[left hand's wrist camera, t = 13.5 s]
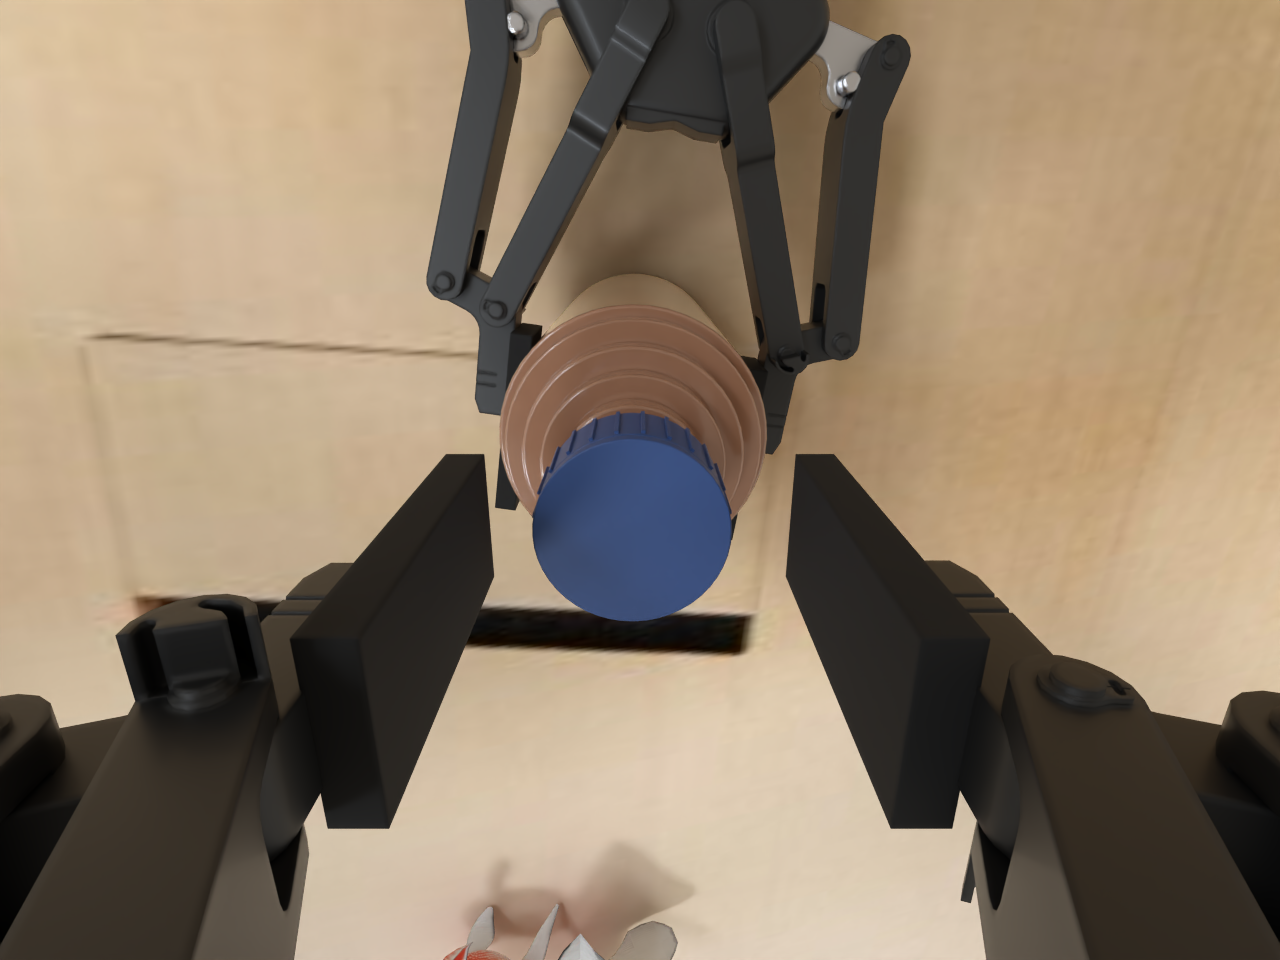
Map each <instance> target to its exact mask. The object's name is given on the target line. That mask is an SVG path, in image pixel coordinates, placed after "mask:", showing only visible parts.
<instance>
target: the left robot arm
mask: <svg viewBox="0 0 1280 960" xmlns="http://www.w3.org/2000/svg"><path fill="white" fill-rule="evenodd" d="M493 578H494V568H493V556H492V544H491V532H490V519H489V507H488V495H487V482H486V470H485V458H484V454H446V455H445V456H444V457H443V459H442V460H441V461H440V462H439V463H438V464H437V466H436V467H435V468H434V469H433V470H432V471H431V473H430V474H429V475H428V476H427V477H426V479H425V480H424V481H423V482H422V483H421V484H420V486H419V487H418V488H417V489H416V490H415V491H414V493H413V494H412V495H411V496H410V497H409V499H408V500H407V501H406V502H405V503H404V504H403V506H402V507H401V508H400V509H399V510H398V511H397V513H396V514H395V515H394V516H393V517H392V519H391V520H390V521H389V522H388V523H387V524H386V526H385V527H384V528H383V529H382V530H381V531H380V533H379V534H378V535H377V536H376V537H375V539H374V540H373V541H372V542H371V543H370V544H369V546H368V547H367V548H366V549H365V550H364V551H363V553H362V554H361V555H360V556H359V557H358V559H357V560H356V561H355V562H354V563H330V564H328V565H327V566H325V567H323V568H321V569H319V570H318V571H316V572H314V573H312V574H310V575H309V576H307V577H305V578H303V579H302V580H301V581H300V582H299V584H298V585H297V586H296V587H295V588H294V589H293V590H292V591H291V592H290V593H289V594H288V595H287V596H286V600H282V601H281V602H280V603H279V604H278V605H277V607H276V608H275V609H274V610H273V611H272V615H268V616H267V617H266V618H265V619H264V620H263V621H262V622H261V623H260V620H259V615H258V611H257V606H256V604H255V603H254V602H252V601H251V600H249V599H248V598H246V597H242V596H236V595H230V594H218V595H203V596H198V597H193V598H189V599H184V600H179V601H176V602H173V603H170V604H167V605H164V606H162V607H159V608H156V609H153V610H151V611H149V612H147V613H145V614H144V615H142V616H140V617H138V618H136V619H135V620H133V621H131V622H129V623H128V624H127V625H126V626H125V627H124V628H123V629H122V630H121V631H120V632H119V633H118V634H117V635H116V639H117V642H118V645H119V649H120V652H121V655H122V659H123V662H124V665H125V669H126V672H127V675H128V678H129V682H130V685H131V688H132V692H133V695H134V698H135V703H134V705H133V707H132V708H131V710H130V712H129V714H128V715H126V716H122V717H116V718H111V719H106V720H101V721H96V722H90V723H85V724H80V725H75V726H70V727H65V728H59V726H58V723H57V720H56V717H55V715H54V712H53V709H52V706H51V703H49V702H48V701H46V700H45V699H43V698H42V697H40V696H35V695H23V694H15V695H8V696H1V697H0V960H294V955H295V948H296V941H297V934H298V927H299V920H300V913H301V906H302V899H303V893H304V886H305V879H306V872H307V865H308V858H309V849H308V842H307V836H306V831H305V827H304V821H305V820H306V818H307V816H308V814H309V812H310V811H311V809H312V807H313V805H314V804H315V802H316V800H317V798H318V796H319V795H320V793H321V797H322V802H323V807H324V812H325V817H326V822H327V827H328V829H389V828H390V825H391V823H392V820H393V818H394V816H395V813H396V811H397V808H398V806H399V804H400V801H401V799H402V796H403V794H404V792H405V789H406V787H407V784H408V782H409V780H410V777H411V775H412V772H413V770H414V768H415V765H416V763H417V760H418V758H419V756H420V753H421V751H422V748H423V746H424V744H425V741H426V739H427V736H428V734H429V732H430V729H431V727H432V724H433V722H434V720H435V717H436V715H437V712H438V710H439V708H440V705H441V703H442V700H443V698H444V696H445V693H446V691H447V688H448V686H449V684H450V681H451V679H452V676H453V674H454V672H455V669H456V667H457V664H458V662H459V660H460V657H461V655H462V652H463V650H464V648H465V645H466V643H467V640H468V638H469V636H470V633H471V631H472V628H473V626H474V624H475V621H476V619H477V616H478V614H479V612H480V609H481V607H482V604H483V602H484V600H485V597H486V595H487V592H488V590H489V588H490V585H491V583H492V580H493ZM786 578H787V580H788V583H789V585H790V588H791V590H792V592H793V595H794V597H795V600H796V602H797V604H798V607H799V609H800V612H801V614H802V616H803V619H804V621H805V624H806V626H807V628H808V631H809V633H810V636H811V638H812V640H813V643H814V645H815V648H816V650H817V652H818V655H819V657H820V660H821V662H822V664H823V667H824V669H825V672H826V674H827V676H828V679H829V681H830V684H831V686H832V688H833V691H834V693H835V696H836V698H837V700H838V703H839V705H840V708H841V710H842V712H843V715H844V717H845V720H846V722H847V724H848V727H849V729H850V732H851V734H852V736H853V739H854V741H855V744H856V746H857V748H858V751H859V753H860V756H861V758H862V760H863V763H864V765H865V768H866V770H867V772H868V775H869V777H870V780H871V782H872V784H873V787H874V789H875V792H876V794H877V796H878V799H879V801H880V804H881V806H882V808H883V811H884V813H885V816H886V818H887V820H888V823H889V825H890V828H891V829H952V827H953V822H954V817H955V812H956V807H957V802H958V797H959V793H960V791H961V793H962V795H963V796H964V798H965V800H966V802H967V803H968V805H969V807H970V809H971V810H972V812H973V814H974V816H975V818H976V819H977V822H976V827H975V831H974V836H973V841H972V845H971V850H970V854H969V859H968V864H967V868H966V873H965V877H964V882H963V888H962V895H961V901H964V902H968V903H971V900H972V896H973V891H974V888H975V887H976V891H977V898H978V905H979V912H980V919H981V926H982V933H983V940H984V947H985V953H986V960H1280V693H1275V692H1268V691H1254V692H1242V693H1240V694H1239V695H1237V696H1236V697H1234V698H1233V699H1231V700H1230V703H1229V706H1228V709H1227V712H1226V715H1225V717H1224V720H1223V723H1222V725H1217V724H1212V723H1207V722H1202V721H1196V720H1191V719H1186V718H1181V717H1176V716H1170V715H1165V714H1160V713H1156V712H1152V711H1150V709H1149V707H1148V705H1147V704H1146V702H1145V700H1144V699H1143V698H1142V697H1141V696H1140V694H1139V693H1138V692H1137V691H1136V690H1135V689H1134V688H1133V687H1132V686H1131V685H1130V684H1128V683H1127V682H1125V681H1124V680H1122V679H1121V678H1119V677H1118V676H1116V675H1115V674H1113V673H1112V672H1109V671H1107V670H1105V669H1102V668H1100V667H1098V666H1095V665H1093V664H1091V663H1088V662H1085V661H1081V660H1077V659H1073V658H1069V657H1065V656H1060V655H1053V654H1052V653H1051V652H1050V651H1049V650H1048V649H1047V648H1046V647H1045V646H1044V645H1043V644H1042V643H1041V642H1040V641H1039V640H1038V639H1037V638H1036V637H1035V636H1034V635H1033V634H1032V632H1031V631H1030V630H1029V629H1028V628H1027V627H1026V626H1025V625H1024V624H1023V623H1022V622H1021V621H1020V620H1019V619H1018V618H1017V617H1016V616H1015V615H1014V614H1013V613H1009V609H1008V608H1007V607H1006V606H1005V604H1004V603H1003V602H1002V601H1001V600H1000V599H999V598H995V597H994V593H993V592H992V591H991V590H990V589H989V588H988V587H987V586H986V585H985V584H984V583H983V582H982V581H981V580H980V579H979V577H978V576H976V575H974V574H973V573H971V572H969V571H967V570H965V569H964V568H962V567H960V566H958V565H956V564H955V563H953V562H951V561H924V560H923V559H922V557H921V556H920V555H919V554H918V553H917V551H916V550H915V549H914V548H913V547H912V546H911V544H910V543H909V542H908V541H907V540H906V539H905V537H904V536H903V535H902V534H901V533H900V531H899V530H898V529H897V528H896V527H895V526H894V524H893V523H892V522H891V521H890V520H889V519H888V517H887V516H886V515H885V514H884V513H883V511H882V510H881V509H880V508H879V507H878V506H877V504H876V503H875V502H874V501H873V500H872V499H871V497H870V496H869V495H868V494H867V493H866V491H865V490H864V489H863V488H862V487H861V486H860V484H859V483H858V482H857V481H856V480H855V479H854V477H853V476H852V475H851V474H850V473H849V471H848V470H847V469H846V468H845V467H844V466H843V464H842V463H841V462H840V461H839V460H838V459H837V457H836V456H835V455H834V454H796V458H795V470H794V482H793V495H792V507H791V519H790V532H789V544H788V556H787V568H786Z"/></svg>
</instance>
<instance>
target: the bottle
mask: <svg viewBox="0 0 1280 960" xmlns="http://www.w3.org/2000/svg"><path fill="white" fill-rule="evenodd" d="M618 411H620V414H622V413H641V411H645V414H650V415H655V416H658V417H661V418H664V417H665V416H666V417H668V418H669V421H672V422H674V423H676V424H678V425H679V426H681V427H682V428H684V429H686V427H687V428H689V429H690V433H691V434H692V435H693V436H694V437H695V438H696V439H697V440H698V441H699V442H700V443H701V444H702V445H703V444H704V443H705V445H706V446H707V449H708V452H709V455H710V457H711V459H712V461H713V463H714V464H715V463H717V465H718V468H719V471H720V474H721V477H722V479H723V482H724V485H725V488H726V490H725V493H726V496H727V499H728V502H729V505H730V507H731V511H732V514H730V516H731V520H732V519H733V518H734V516H735V515H736V514H737V513H738V512H739V510H740V509H741V508H742V506H743V505H744V504H745V502H746V501H747V499H748V497H749V496H750V494H751V492H752V490H753V488H754V487H755V484H756V482H757V479H758V477H759V474H760V472H761V468H762V464H763V460H764V456H765V449H766V440H767V428H766V416H765V410H764V404H763V401H762V398H761V394H760V391H759V388H758V386H757V384H756V382H755V379H754V377H753V375H752V373H751V371H750V370H749V368H748V367H747V365H746V364H745V362H744V360H743V359H742V357H741V356H740V355H739V354H738V353H737V351H736V350H735V349H734V348H733V346H732V345H731V344H730V343H729V342H728V340H727V339H726V338H725V337H724V335H723V334H722V333H721V332H720V331H719V329H718V328H717V327H716V326H715V324H714V323H713V322H712V321H711V320H710V318H709V317H708V316H707V315H706V314H705V312H704V311H703V310H702V309H701V307H700V306H699V305H698V304H697V303H696V302H695V300H694V299H693V298H692V297H691V296H690V295H688V294H687V293H686V292H685V291H684V290H682V289H681V288H679V287H678V286H676V285H675V284H673V283H671V282H669V281H667V280H665V279H662V278H659V277H656V276H651V275H646V274H622V275H617V276H613V277H609V278H607V279H604V280H601V281H599V282H597V283H595V284H594V285H592V286H590V287H589V288H587V289H586V290H585V291H583V292H582V293H581V294H580V295H579V296H578V297H577V298H576V299H574V300H573V302H572V303H571V304H570V305H569V306H568V307H567V309H566V310H565V311H564V312H563V313H562V314H561V315H560V317H559V318H558V319H557V320H556V321H555V322H554V323H553V325H552V326H551V327H550V328H549V329H548V330H547V332H546V333H545V334H544V335H543V336H542V337H541V338H540V340H539V341H538V342H537V343H536V344H535V345H534V347H533V348H532V349H531V350H530V351H529V353H528V354H527V355H526V357H525V358H524V359H523V360H522V362H521V363H520V365H519V367H518V368H517V370H516V372H515V373H514V375H513V377H512V379H511V382H510V384H509V386H508V389H507V391H506V394H505V398H504V402H503V406H502V410H501V418H500V447H501V454H502V460H503V463H504V467H505V470H506V473H507V476H508V479H509V481H510V483H511V485H512V487H513V490H514V492H515V493H516V495H517V496H518V498H519V500H520V501H521V503H522V505H523V506H524V507H525V508H526V510H527V511H528V512H529V513H530V514H531V516H532V514H533V511H534V508H535V506H536V503H537V500H538V497H539V495H538V494H537V492H538V489H539V486H540V483H541V481H542V478H543V475H544V473H545V470H546V467H547V466H548V467H550V465H551V462H552V459H553V457H554V454H555V451H556V449H557V447H558V446H559V447H560V448H561V446H562V445H563V444H564V443H565V442H566V440H567V439H569V438H570V437H571V434H572V431H574V430H576V431H578V430H579V429H581V428H582V427H584V426H585V425H587V424H589V423H591V422H592V420H593V419H594V418H597V420H598V419H601V418H603V417H606V416H610V415H615V414H616V412H618Z"/></svg>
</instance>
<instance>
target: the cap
mask: <svg viewBox="0 0 1280 960" xmlns="http://www.w3.org/2000/svg"><path fill="white" fill-rule="evenodd" d="M725 490H726V488H725V485H724V482H723V479H722V477H721V474H720V471H719V468H718V465H717V463H715V464H714V463H713V461H712V459H711V457H710V455H709V452H708V449H707V446H706V445H705V443H704V444H703V445H702V444H701V443H700V442H699V441H698V440H697V439H696V438H695V437H694V436H693V435H692V434H691V433H690V429H689V428H687V427H686V429H684V428H682V427H681V426H679V425H678V424H676V423H674V422H672V421H669V418H668V417H666V416H665V417H664V418H661V417H658V416H655V415H650V414H645V411H641V413H622V414H620V411H618V412H616V414H615V415H610V416H606V417H603V418H601V419H598V420H597V418H594V419H593V420H592V422H591V423H589V424H587V425H585V426H584V427H582V428H581V429H579V430H578V431H576V430H574V431H572V434H571V437H570V438H569V439H567V440H566V442H565V443H564V444H563V445H562V446H561V448H560V447H559V446H558V447H557V449H556V451H555V454H554V457H553V459H552V462H551V465H550V467H548V466H547V467H546V470H545V473H544V475H543V478H542V481H541V483H540V486H539V489H538V492H537V494H538V495H539V497H538V500H537V503H536V506H535V508H534V511H533V514H532V518H533V524H532V529H533V542H534V549H535V552H536V555H537V559H538V561H539V563H540V565H541V568H542V570H543V571H544V573H545V575H546V576H547V578H548V579H549V581H550V582H551V583H552V584H553V586H554V587H555V588H556V589H557V590H558V591H559V592H560V593H561V594H562V595H563V596H564V597H565V598H567V599H568V600H569V601H571V602H572V603H573V604H575V605H576V606H578V607H580V608H582V609H584V610H586V611H588V612H590V613H593V614H595V615H598V616H601V617H605V618H608V619H614V620H621V621H643V620H650V619H656V618H660V617H663V616H666V615H669V614H672V613H674V612H676V611H679V610H681V609H683V608H684V607H686V606H688V605H689V604H691V603H693V602H694V601H695V600H696V599H698V598H699V597H700V596H701V595H702V594H703V593H704V592H705V591H706V590H707V589H708V588H709V587H710V586H711V585H712V584H713V582H714V581H715V580H716V578H717V577H718V575H719V573H720V572H721V570H722V568H723V566H724V564H725V561H726V559H727V556H728V553H729V549H730V545H731V535H732V525H731V516H730V514H732V511H731V507H730V505H729V502H728V499H727V496H726V493H725Z"/></svg>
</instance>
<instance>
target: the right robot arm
mask: <svg viewBox="0 0 1280 960" xmlns="http://www.w3.org/2000/svg"><path fill="white" fill-rule="evenodd" d="M465 6H466V15H467V23H468V32H469V40H470V49H471V51H470V56H469V61H468V67H467V72H466V77H465V82H464V87H463V92H462V97H461V103H460V108H459V113H458V118H457V123H456V128H455V133H454V138H453V144H452V149H451V154H450V159H449V164H448V169H447V174H446V180H445V185H444V190H443V195H442V200H441V205H440V210H439V216H438V221H437V226H436V231H435V236H434V241H433V246H432V251H431V257H430V262H429V267H428V272H427V286H428V289H429V291H430V292H431V293H432V294H433V295H434V296H435V297H437V298H438V299H440V300H448V301H450V302H452V303H454V304H455V305H457V306H459V307H461V308H463V309H465V310H467V311H468V312H469V313H471V314H472V315H473V316H474V317H475V319H476V321H477V323H478V326H479V331H480V336H479V350H478V364H477V378H476V391H475V400H476V403H477V406H478V409H479V412H480V413H486V414H493V415H500V416H501V410H502V406H503V402H504V398H505V394H506V391H507V389H508V386H509V384H510V382H511V379H512V377H513V375H514V373H515V372H516V370H517V368H518V367H519V365H520V363H521V362H522V360H523V359H524V358H525V357H526V355H527V354H528V353H529V351H530V350H531V349H532V348H533V347H534V345H535V344H536V343H537V342H538V341H539V340H540V338H541V334H542V326H540V325H534V324H527V323H522V324H521V319H522V314H523V312H524V311H525V310H526V309H525V307H526V305H527V303H528V301H529V299H530V297H531V295H532V294H533V292H534V290H535V288H536V286H537V284H538V282H539V280H540V278H541V276H542V275H543V273H544V271H545V269H546V267H547V265H548V263H549V261H550V259H551V257H552V256H553V254H554V252H555V250H556V248H557V246H558V244H559V242H560V240H561V238H562V237H563V235H564V233H565V231H566V229H567V227H568V225H569V223H570V221H571V219H572V218H573V216H574V214H575V212H576V210H577V208H578V206H579V204H580V202H581V200H582V199H583V197H584V195H585V193H586V191H587V189H588V187H589V185H590V183H591V181H592V180H593V178H594V176H595V174H596V172H597V170H598V168H599V166H600V164H601V162H602V161H603V159H604V157H605V155H606V154H607V152H608V151H609V149H610V148H611V146H612V144H613V142H614V140H615V138H616V137H617V135H618V133H619V131H620V129H621V127H622V125H623V124H625V125H626V127H627V128H628V129H633V130H639V131H645V132H653V131H661V130H669V129H672V130H675V131H677V132H679V133H681V134H683V135H685V136H687V137H689V138H692V139H694V140H699V141H704V142H710V143H717V141H718V140H719V142H720V148H721V153H722V159H723V164H724V168H725V171H726V173H727V177H728V181H729V187H730V192H731V198H732V203H733V209H734V214H735V220H736V225H737V231H738V236H739V242H740V247H741V253H742V258H743V264H744V269H745V275H746V280H747V286H748V291H749V297H750V302H751V308H752V313H753V319H754V324H755V330H756V335H757V341H758V346H759V349H760V350H759V355H758V360H757V359H756V358H751V357H744V356H741V357H742V359H743V360H744V362H745V364H746V365H747V367H748V368H749V370H750V371H751V373H752V375H753V377H754V379H755V382H756V384H757V386H758V388H759V391H760V394H761V398H762V401H763V404H764V410H765V416H766V428H767V440H766V449H765V453H766V454H773V453H774V451H775V450H776V448H777V447H778V445H779V444H780V443H781V438H782V434H783V430H784V425H785V421H786V416H787V412H788V408H789V403H790V399H791V395H792V390H793V386H794V382H795V379H796V376H797V375H798V373H801V372H802V371H803V370H804V369H805V368H806V367H807V365H809V364H812V363H816V362H821V361H826V360H831V359H835V360H846V359H848V358H850V357H851V356H853V355H854V353H855V352H856V351H857V349H858V346H859V340H860V331H861V322H862V313H863V304H864V295H865V286H866V277H867V268H868V259H869V249H870V240H871V231H872V222H873V213H874V204H875V195H876V186H877V177H878V168H879V158H880V149H881V140H882V131H883V122H884V120H885V118H886V115H887V113H888V111H889V108H890V106H891V104H892V101H893V99H894V97H895V95H896V92H897V90H898V88H899V85H900V83H901V81H902V79H903V76H904V74H905V72H906V69H907V67H908V65H909V61H910V57H911V54H910V47H909V45H908V43H907V41H906V40H905V39H904V38H903V37H901V36H900V35H895V34H891V35H887V36H884V37H883V38H882V39H880V40H879V41H875V40H872V39H870V38H868V37H866V36H863V35H861V34H859V33H857V32H855V31H852V30H850V29H848V28H846V27H843V26H841V25H839V24H837V23H834V22H832V21H830V13H829V6H828V2H827V0H465ZM556 17H562V18H563V20H564V22H565V24H566V26H567V28H568V30H569V32H570V35H571V37H572V39H573V41H574V43H575V45H576V47H577V49H578V51H579V54H580V56H581V58H582V60H583V62H584V64H585V66H586V68H587V70H588V73H589V75H590V79H589V81H588V83H587V85H586V87H585V89H584V91H583V93H582V95H581V97H580V99H579V101H578V103H577V105H576V107H575V109H574V111H573V114H572V116H571V119H570V123H569V126H568V128H567V130H566V132H565V134H564V136H563V138H562V140H561V142H560V144H559V146H558V148H557V150H556V152H555V154H554V156H553V158H552V160H551V162H550V164H549V166H548V168H547V170H546V172H545V174H544V176H543V178H542V180H541V182H540V184H539V186H538V188H537V190H536V192H535V194H534V196H533V198H532V200H531V202H530V204H529V206H528V208H527V210H526V212H525V214H524V216H523V218H522V220H521V222H520V224H519V226H518V228H517V230H516V232H515V233H514V235H513V237H512V239H511V241H510V243H509V245H508V247H507V249H506V251H505V253H504V255H503V257H502V259H501V261H500V263H499V265H498V267H497V269H496V271H495V273H494V275H493V277H490V276H488V275H486V274H484V273H482V272H481V271H480V268H481V264H482V259H483V254H484V250H485V245H486V241H487V236H488V232H489V227H490V222H491V218H492V213H493V209H494V204H495V200H496V195H497V191H498V186H499V181H500V177H501V172H502V168H503V163H504V159H505V154H506V149H507V145H508V140H509V136H510V131H511V127H512V122H513V118H514V113H515V108H516V104H517V99H518V94H519V88H520V82H521V68H522V60H521V58H526V57H530V56H532V55H533V54H535V53H536V52H537V50H538V49H539V47H540V45H541V39H542V33H543V30H544V28H545V25H546V24H547V23H548V22H549V21H550V20H552V19H553V18H556ZM808 61H810V62H812V63H813V64H815V65H816V67H817V68H818V69H819V72H820V74H821V87H820V100H821V102H822V104H823V105H824V107H825V108H826V109H828V110H829V111H831V112H832V113H831V116H830V119H829V123H828V127H827V131H826V137H825V144H824V154H823V166H822V178H821V190H820V201H819V213H818V225H817V237H816V249H815V260H814V272H813V284H812V296H811V308H810V319H809V323H804V324H800V320H799V314H798V307H797V301H796V295H795V289H794V282H793V276H792V270H791V264H790V257H789V251H788V245H787V239H786V232H785V226H784V220H783V213H782V207H781V201H780V195H779V188H778V182H777V176H776V170H775V162H774V157H775V144H774V137H773V130H772V124H771V118H770V111H769V105H768V104H769V103H770V102H771V101H772V100H773V98H774V97H775V96H776V95H777V94H778V93H779V92H780V91H781V90H782V89H783V88H784V87H785V86H786V85H787V83H788V82H789V81H790V80H791V79H792V78H793V77H794V76H795V75H796V74H797V73H798V72H799V71H800V69H801V68H802V67H803V66H804V65H805V64H806V63H807V62H808ZM518 503H519V498H518V496H517V495H516V493H515V492H514V490H513V487H512V485H511V483H510V481H509V479H508V476H507V473H506V470H505V467H504V463H503V460H502V454H501V447H500V458H499V469H498V481H497V492H496V503H495V508H501V509H508V510H516V508H517V505H518ZM737 515H738V513H737V514H736V515H735V516H734V518H733V519H732V520H731V525H732V535H731V540H732V538H733V533H734V529H735V524H736V519H737Z"/></svg>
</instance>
